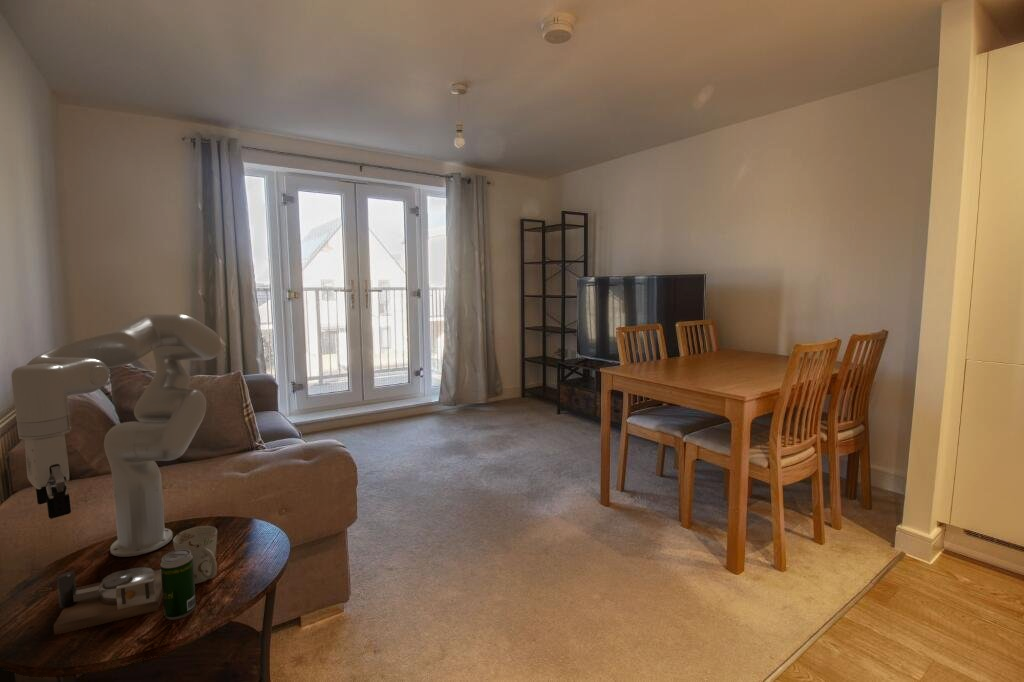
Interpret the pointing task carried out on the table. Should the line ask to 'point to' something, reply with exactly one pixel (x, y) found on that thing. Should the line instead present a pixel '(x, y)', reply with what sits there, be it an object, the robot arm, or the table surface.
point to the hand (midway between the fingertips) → (54, 508)
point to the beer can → (178, 584)
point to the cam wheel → (105, 590)
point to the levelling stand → (129, 604)
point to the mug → (200, 550)
